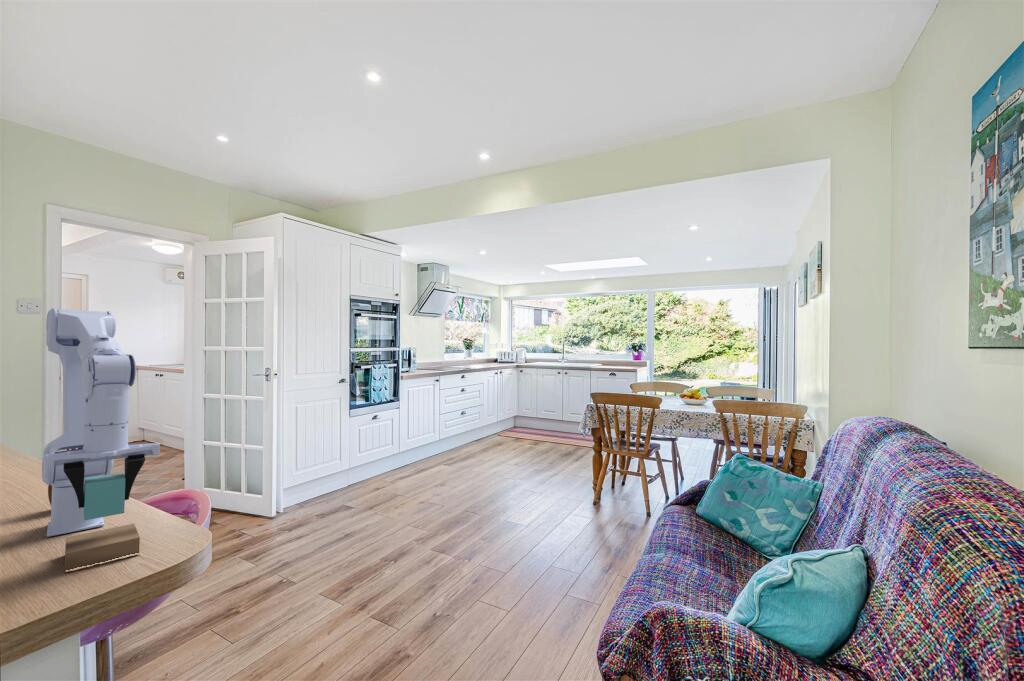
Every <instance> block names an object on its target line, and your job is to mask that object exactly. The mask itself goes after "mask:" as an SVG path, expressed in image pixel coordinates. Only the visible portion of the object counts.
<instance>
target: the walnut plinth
mask: <svg viewBox="0 0 1024 681" xmlns="http://www.w3.org/2000/svg"><path fill="white" fill-rule="evenodd" d="M140 540H141V539H140V535H139V532H138V530H137V527H136V524H135V523H130V524H125V525H120V526H116V527H111V528H106V529H105V528H104V529H102V530H101V529H100V530H96V531H90V532H87V533H80V534H77V535H71V536H67V537H65V547H64V548H65V550H64V551H65V552H64V571H65V570H70V569H74V568H77V567H82V566H87V565H92V564H95V563H100V562H105V561H108V560H112V559H115V558H119V557H122V556H126V555H130V554H135V553H139V554H140Z"/></svg>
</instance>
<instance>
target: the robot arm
mask: <svg viewBox="0 0 1024 681" xmlns="http://www.w3.org/2000/svg"><path fill="white" fill-rule="evenodd" d="M45 320H46V322H45V331H46V334H45V336H46V340H45V341H46V346H47V351H48V352H51V353H53V354H55V355H58V356H59V359H60V362H61V365H62V366H61V367H62V419H63V420H62V427H63V428H62V430H63V431H62V432H63V433H62V434H61V435H60V436H58V437H56V438H55V439H53V440H51V441H50V442H48V443H47V444H46V445H45V447H44V449H43V456H42V460H41V478H42V480H41V481H42V482H43V483H44V484H45V485H47V486H49V485H52V502H51V505H50V521H48V523H47V530H46V537H48V538H49V537H53V536H60V535H63V534H68V533H69V534H70V533H75V532H79V531H84V530H89V529H95V528H99V527H103V526H105V520H104V517H101V518H95V519H90V520H85V521H84V515H83V508H84V502H85V499H84V483H85V478H90V477H97V476H104V475H110V474H111V473H112V471H113V469H114V463H115V461H114V460H118V459H119V460H121V459H124V476H125V501H128V500H129V499H130V495H131V491H132V487H133V486H134V483H135V480H136V479H137V476H138V474H139V472H140V471H141V468H142V467H143V466H144V464H145V462H146V457H145V456H159V455H160V452H161V450H160V449H161V444H160V443H159V442H153V443H152V442H151V443H140V444H139V443H138V444H129V428H130V427H129V425H130V424H129V423H130V422H129V421H130V420H129V419H130V403H131V402H130V394H131V387H133V385H134V384H135V380H136V375H137V366H136V360H135V357H134V355H133V354H124V352H123V350H122V349H121V347H120V345H119V342H118V341H117V340H116V339H115V338H114V337H115V335H116V330H117V319H116V316H115V314H114V313H113V312H112V311H96V310H95V311H94V310H83V309H81V310H80V309H68V308H67V309H64V308H57V307H52V308H50V309H49V310H48V311H47V313H46V319H45ZM82 447H83V449H78V448H82ZM73 448H76V450H71V449H73ZM67 449H69V450H67Z"/></svg>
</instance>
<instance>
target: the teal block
mask: <svg viewBox="0 0 1024 681" xmlns="http://www.w3.org/2000/svg"><path fill="white" fill-rule="evenodd" d="M84 499H85V502H84V508H83V515H84V521H85V520H90V519H95V518H101V517H103V518H106V517H111V516H116V515H122V514H125V506H126V504H125V501H126V500H125V473H124V472H120V473H114V474H113V473H112V474H111V473H110V474H109V475H104V476H97V477H90V478H85V483H84Z"/></svg>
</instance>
